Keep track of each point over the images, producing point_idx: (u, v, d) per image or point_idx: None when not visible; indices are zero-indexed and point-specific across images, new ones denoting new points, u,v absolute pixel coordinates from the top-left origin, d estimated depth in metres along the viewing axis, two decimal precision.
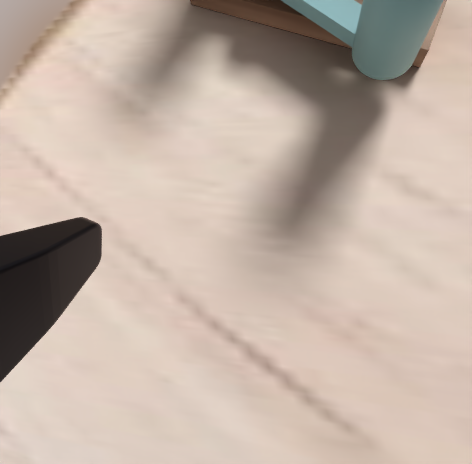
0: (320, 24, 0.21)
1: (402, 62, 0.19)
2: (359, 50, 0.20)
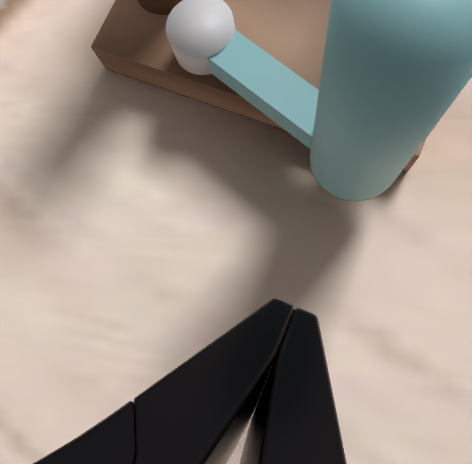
0: (266, 114, 0.15)
1: (379, 185, 0.13)
2: (317, 163, 0.13)
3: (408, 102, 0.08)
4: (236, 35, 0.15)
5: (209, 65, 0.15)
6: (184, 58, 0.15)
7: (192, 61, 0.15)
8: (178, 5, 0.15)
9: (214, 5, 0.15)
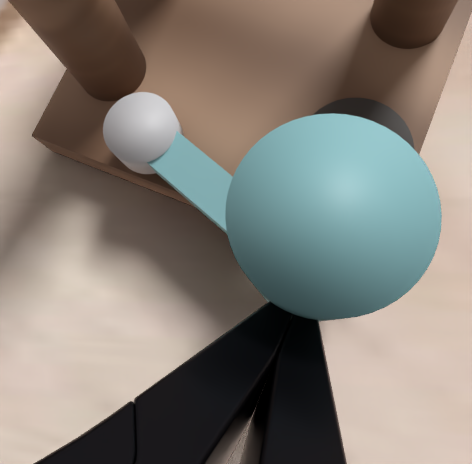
0: (212, 221, 0.14)
1: None
2: None
3: (323, 319, 0.07)
4: (178, 138, 0.14)
5: (151, 167, 0.14)
6: (123, 161, 0.14)
7: (132, 165, 0.14)
8: (117, 103, 0.14)
9: (155, 105, 0.14)
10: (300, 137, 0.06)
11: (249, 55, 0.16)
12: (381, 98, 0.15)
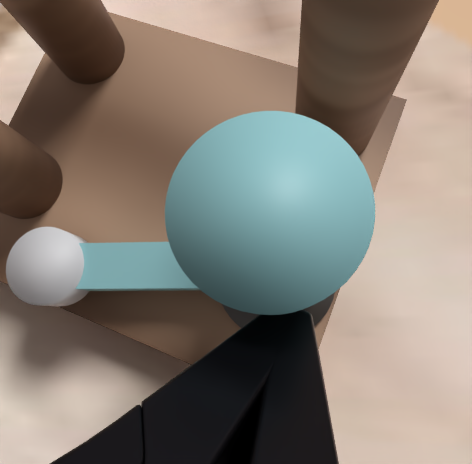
0: (169, 289, 0.14)
1: None
2: None
3: None
4: (85, 247, 0.13)
5: (82, 289, 0.13)
6: (54, 305, 0.13)
7: (65, 300, 0.13)
8: (8, 262, 0.13)
9: (43, 237, 0.13)
10: (196, 171, 0.06)
11: (169, 169, 0.15)
12: None
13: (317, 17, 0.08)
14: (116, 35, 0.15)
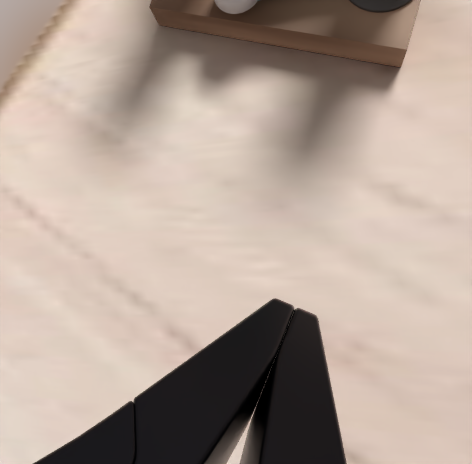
0: None
1: None
2: None
3: None
4: None
5: None
6: (241, 0, 0.20)
7: None
8: None
9: None
10: None
11: None
12: None
13: None
14: None
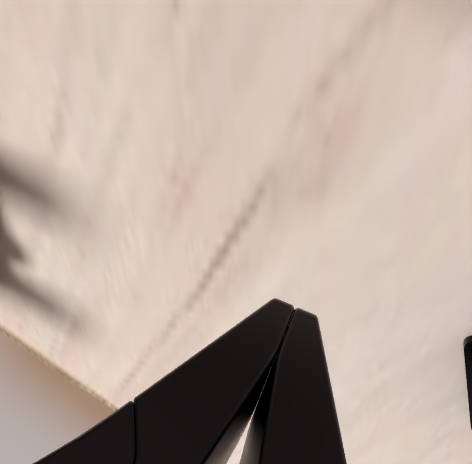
0: None
1: None
2: None
3: None
4: None
5: None
6: None
7: None
8: None
9: None
10: None
11: None
12: None
13: None
14: None
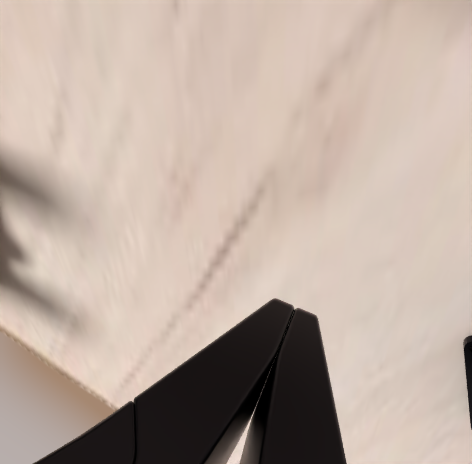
0: None
1: None
2: None
3: None
4: None
5: None
6: None
7: None
8: None
9: None
10: None
11: None
12: None
13: None
14: None
